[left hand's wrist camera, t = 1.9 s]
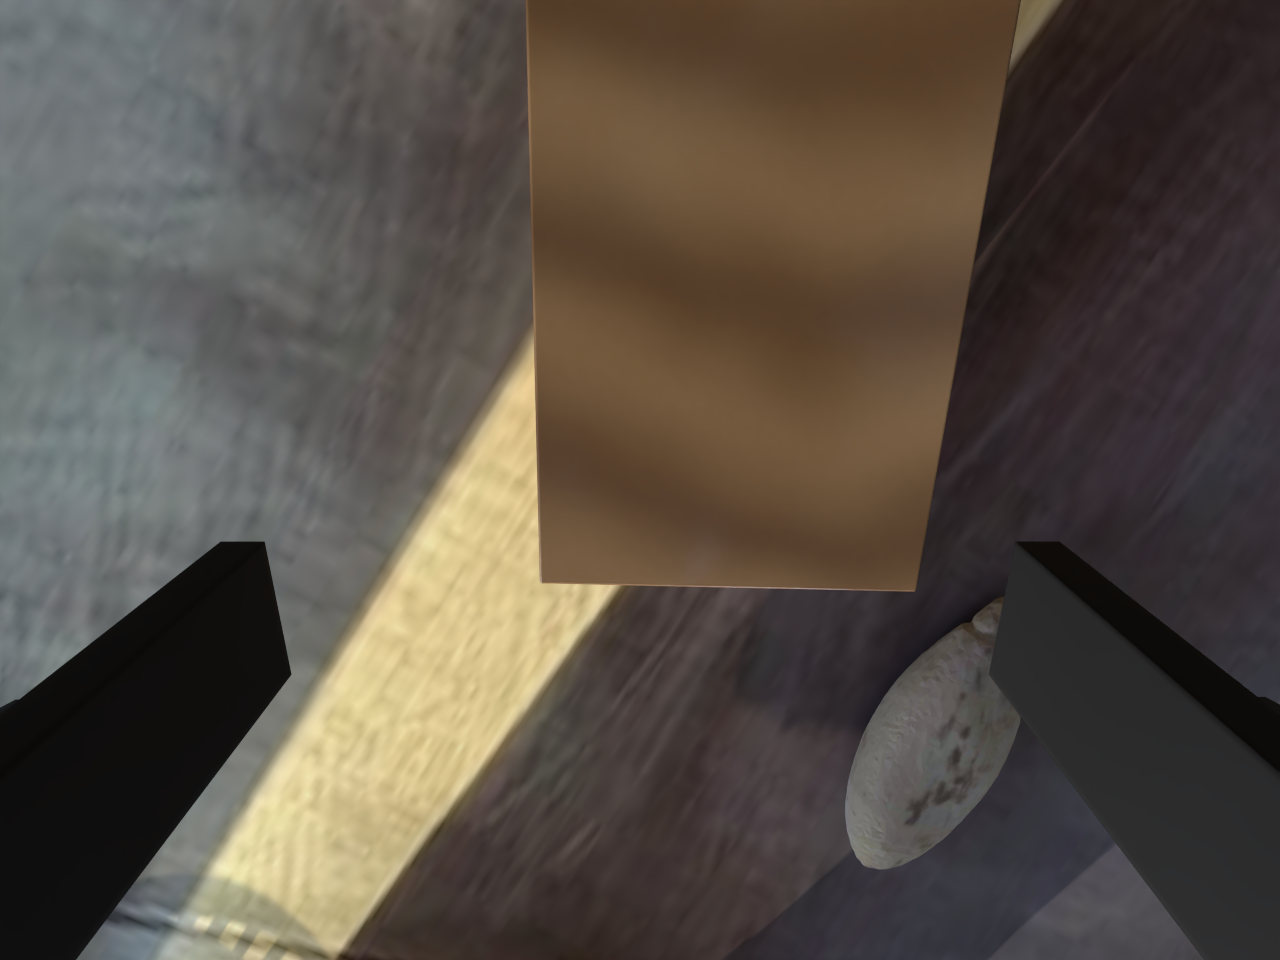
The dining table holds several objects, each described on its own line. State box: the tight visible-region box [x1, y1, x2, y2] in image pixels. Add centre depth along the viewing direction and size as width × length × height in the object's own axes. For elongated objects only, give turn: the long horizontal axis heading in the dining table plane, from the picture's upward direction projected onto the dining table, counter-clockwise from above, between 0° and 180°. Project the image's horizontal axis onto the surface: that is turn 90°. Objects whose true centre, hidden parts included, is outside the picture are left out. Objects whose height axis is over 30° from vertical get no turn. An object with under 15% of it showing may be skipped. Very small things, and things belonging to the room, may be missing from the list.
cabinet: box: [526, 0, 1021, 591], centre depth 23 cm, size 17×11×11 cm, turn 179°
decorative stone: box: [845, 596, 1021, 870], centre depth 34 cm, size 6×16×3 cm, turn 163°
